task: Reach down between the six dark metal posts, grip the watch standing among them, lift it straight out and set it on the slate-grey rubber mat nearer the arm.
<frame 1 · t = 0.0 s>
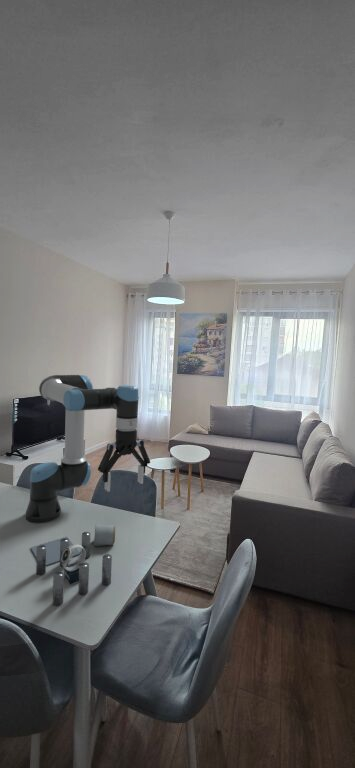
hand: (124, 486, 122), 28 cm above the table, tool pointing down, fingers open, 13 cm apart
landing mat: (55, 551, 127), on the table
ceramic mug: (103, 542, 136), on the table
watch: (73, 578, 113), on the table
post field: (73, 577, 113), on the table
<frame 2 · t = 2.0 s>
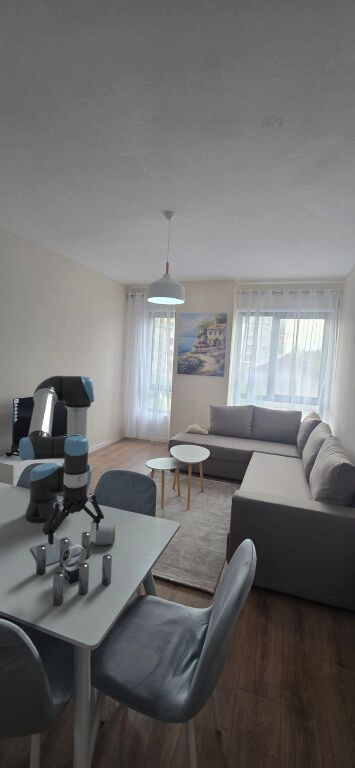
hand: (73, 546, 112), 11 cm above the table, tool pointing down, fingers open, 13 cm apart
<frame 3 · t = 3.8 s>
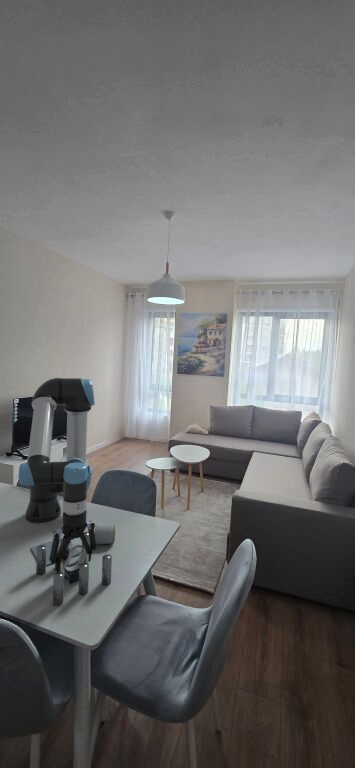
hand: (73, 575, 113), 1 cm above the table, tool pointing down, fingers closed on watch, 8 cm apart
watch: (73, 578, 113), on the table, touching gripper
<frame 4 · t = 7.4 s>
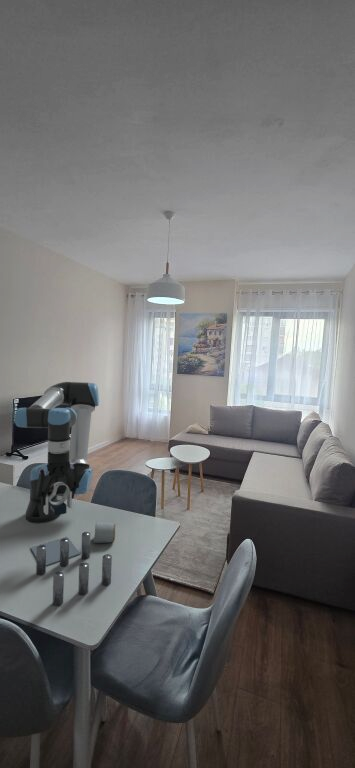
hand: (57, 509, 126), 17 cm above the table, tool pointing down, fingers closed on watch, 8 cm apart
watch: (57, 512, 126), point 16 cm above the table, touching gripper
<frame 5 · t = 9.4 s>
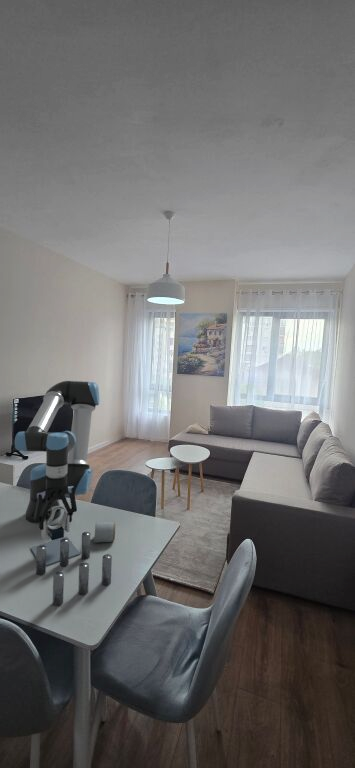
hand: (55, 533, 127), 7 cm above the table, tool pointing down, fingers closed on watch, 8 cm apart
watch: (55, 536, 127), point 6 cm above the table, touching gripper
when the fingers open (3 cm above the table, at t = 11.2 s): watch drops 1 cm, resting on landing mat.
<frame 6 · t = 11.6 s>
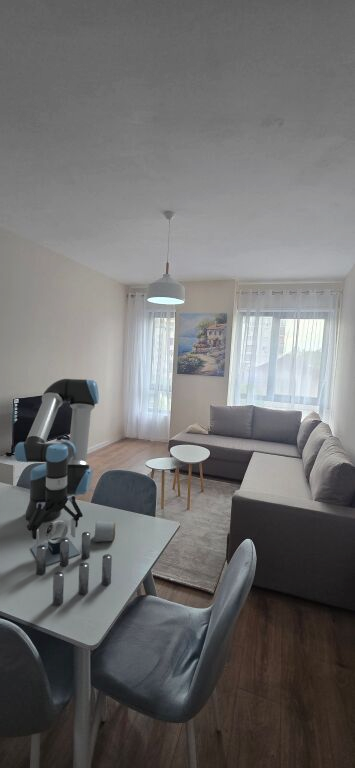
hand: (55, 541, 127), 4 cm above the table, tool pointing down, fingers open, 13 cm apart
watch: (55, 550, 128), resting on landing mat
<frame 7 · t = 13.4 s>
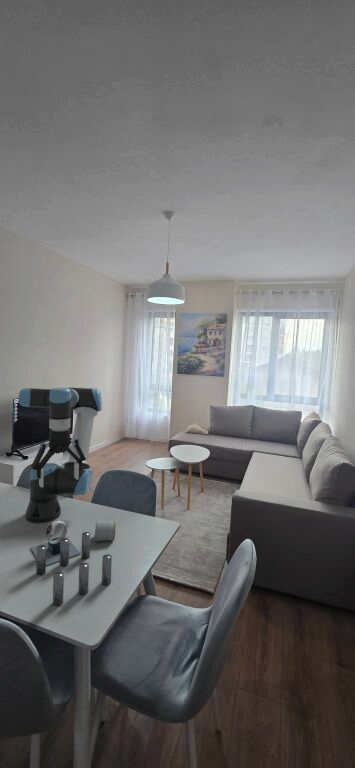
hand: (59, 482, 130), 25 cm above the table, tool pointing down, fingers open, 13 cm apart
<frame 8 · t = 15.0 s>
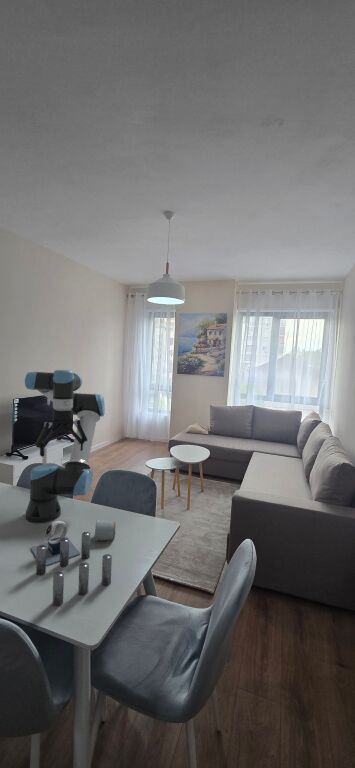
hand: (61, 461, 135), 32 cm above the table, tool pointing down, fingers open, 13 cm apart
at the end: watch inside the target area on the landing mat (0.2 cm from its centre), point 0.3 cm above the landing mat's base; the gripper is holding nothing; watch tilted 0° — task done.
